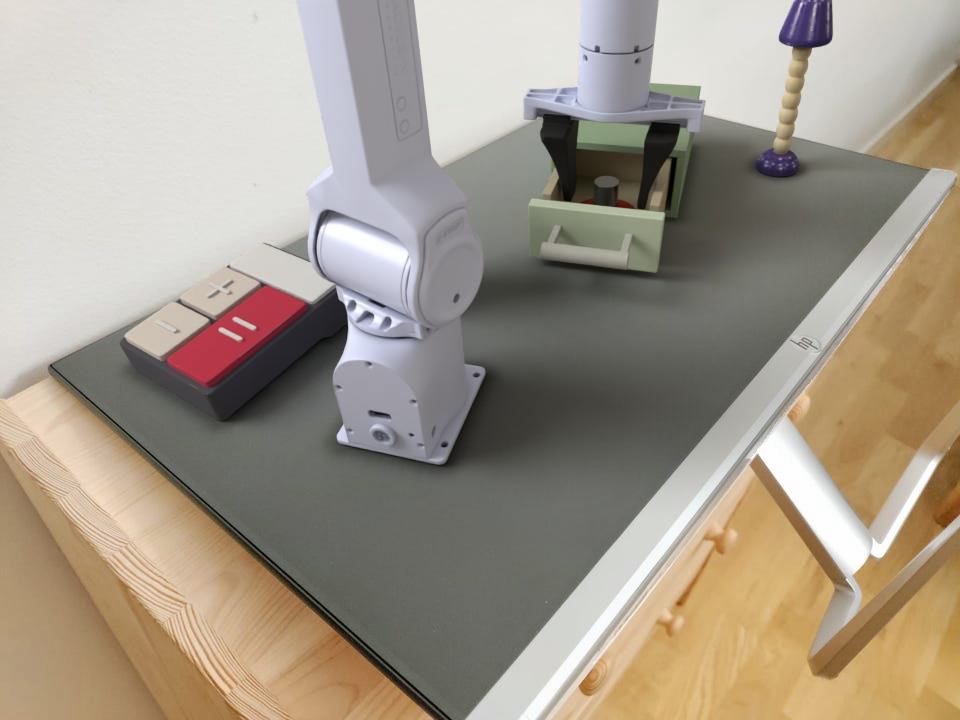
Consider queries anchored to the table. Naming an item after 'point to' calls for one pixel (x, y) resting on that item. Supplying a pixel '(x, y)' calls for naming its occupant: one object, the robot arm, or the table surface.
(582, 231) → the drawer
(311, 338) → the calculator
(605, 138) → the cabinet
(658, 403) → the table surface
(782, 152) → the toy lamp
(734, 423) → the table surface
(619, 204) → the lid
